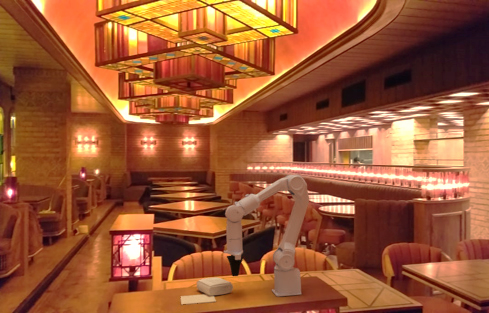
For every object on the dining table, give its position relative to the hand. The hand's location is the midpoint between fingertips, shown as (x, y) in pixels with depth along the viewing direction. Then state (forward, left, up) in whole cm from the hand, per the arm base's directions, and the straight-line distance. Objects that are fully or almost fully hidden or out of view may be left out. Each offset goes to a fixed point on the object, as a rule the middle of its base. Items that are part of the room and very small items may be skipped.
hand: (235, 275), depth 151 cm
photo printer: (+5, -2, -5) cm, 7 cm away
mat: (+14, 0, -7) cm, 16 cm away
